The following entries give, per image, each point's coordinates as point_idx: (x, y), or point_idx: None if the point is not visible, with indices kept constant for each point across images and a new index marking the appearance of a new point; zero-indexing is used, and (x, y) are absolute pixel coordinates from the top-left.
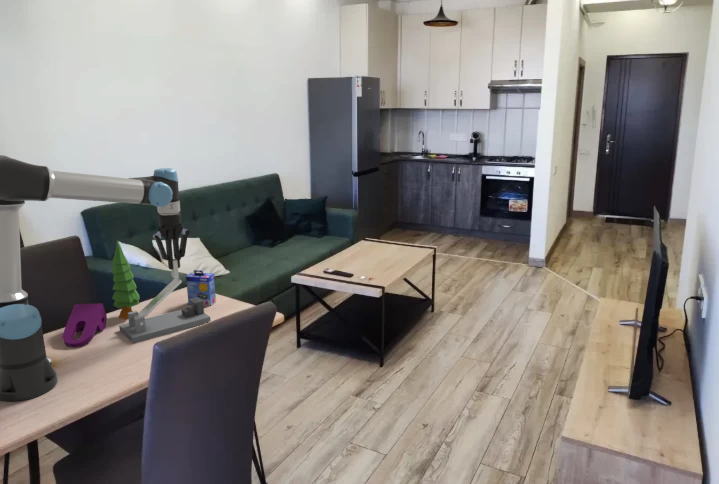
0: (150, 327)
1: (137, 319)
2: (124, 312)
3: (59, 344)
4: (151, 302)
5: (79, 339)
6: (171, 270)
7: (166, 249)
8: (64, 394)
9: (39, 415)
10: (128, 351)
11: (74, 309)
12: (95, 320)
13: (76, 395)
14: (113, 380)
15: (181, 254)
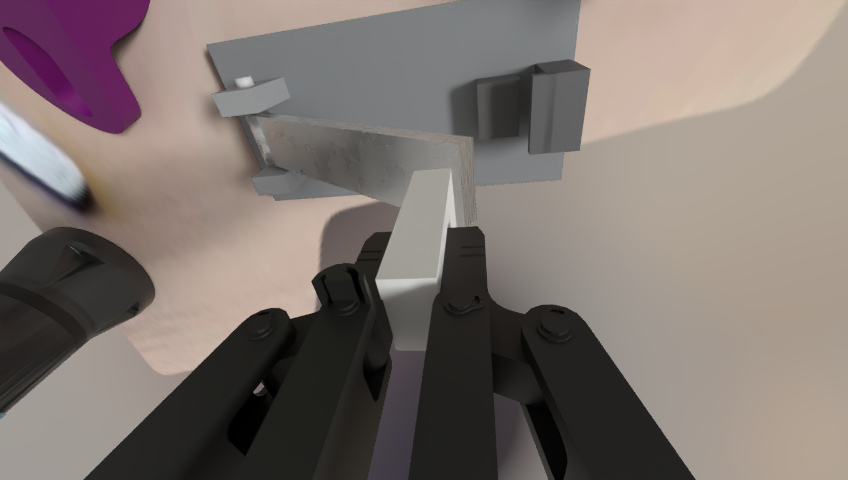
0: None
1: (266, 193)
2: None
3: None
4: (307, 137)
5: (97, 121)
6: (405, 205)
7: (245, 478)
8: (185, 322)
9: (171, 349)
10: (275, 232)
11: None
12: (83, 64)
13: (207, 333)
14: None
15: (524, 413)
